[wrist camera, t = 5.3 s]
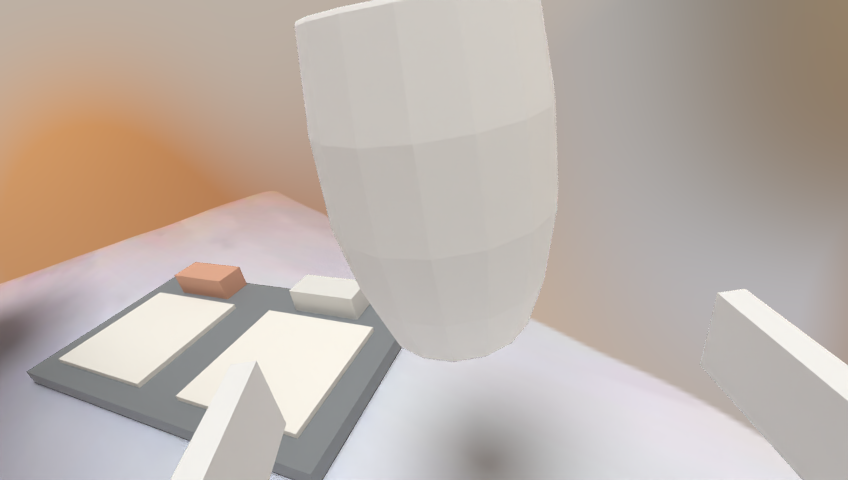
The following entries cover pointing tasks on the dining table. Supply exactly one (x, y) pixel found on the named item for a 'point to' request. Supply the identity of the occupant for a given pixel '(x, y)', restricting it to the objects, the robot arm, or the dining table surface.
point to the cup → (437, 162)
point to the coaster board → (235, 357)
